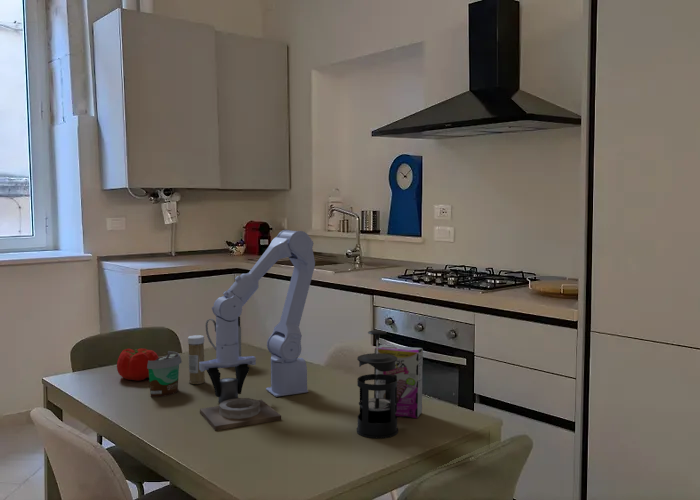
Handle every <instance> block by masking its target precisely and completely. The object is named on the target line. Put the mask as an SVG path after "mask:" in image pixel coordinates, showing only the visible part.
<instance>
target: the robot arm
mask: <svg viewBox="0 0 700 500" xmlns="http://www.w3.org/2000/svg"><path fill="white" fill-rule="evenodd" d="M313 246H314V241H313V239H312V238H311V237H310V235H309V234H308V233H307V232H305V231H303V230H291V229H283V230H281V231H280V232H279V233H278V234H277V236H275V237H274V238H273V239H272V240H271V242H270V244H269V245H268V247H267V248H266V249H265V251H264V252H263V253H262V255H261V256H260V257H259V259H258V260H257V261H256V262H255V264H254V265H253V266H252V267H251V269H250V270H249V272H247V273H241V274H240V275H237V276H236V277H235V278H234V280H235V281H234V282H233V283H232V285H230V287H229V288H228V289H227V290H225V291H224V292H223V293H222V295H223V296H220V297H217V299H215V301H214V302H213V306H212V307H211V310H212V314H213V315H214V316H215V322H216V332H215V340H216V341H215V347H216V350H215V351H216V353H215V355H216V356H215V357H216V358H215V359H209V360H204V362H199V370H200V371H204V372H205V371H206V372H207V375H208V376H209V378H210V380H211V384H212V386H213V390H214V394H215V397H217V398H219V397H220V379H221V372H220V370H219V369H224V368H226V369H227V368H234V371H235V378H236V379H238V395H241V394H242V390H243V386H244V382H245V379H246V378H247V375H248V374H249V371H250V366H249V365H251V366H256V364H257V362H256V360H257V359H256V356H253V355H251V356H250V355H249V356H241V357H239V340H238V317H241V315H242V312H243V307H244V306H245V305H246V303H247V302H248V301H249V299H251V298H252V296H253V295H254V294H255V293H256V291H257V290H258V289H259V281H260V280H261V279H262V278H263V277H264V275H266V274H267V272H268V271H269V270H270V269H271V268H272V267H273V266H274V265H275V264H276V263H277V262H278V261H279V260H282V259H287V258H288V259H289V260H290V262H291V263H292V265H293V270H292V275H291V278H290V282H289V286H288V289H287V292H286V293H287V294H286V297H285V301H284V304H283V307H282V312H281V317H280V320H279V322H278V323H277V324H276V325H275V326H274V328H273V331H272V333H271V335H270V336H269V337H268V338H267V342H266V348H267V350H268V352H269V353H270V355H271V357H270V386H268V387H266V388H265V390H266V391H267V392H269V393H270V394H272V395H273V397H275V398H276V397H285V396H291V395H298V394H304V393H305V394H306V393H308V392H309V389H308V366H307V362H306V360H305V358H303V357H300V355H301V354H302V344H301V343H302V332H301V329H300V324H301V320H302V317H303V313H304V309H305V306H306V305H305V304H306V301H307V297H308V293H309V290H310V285H311V282H312V280H313V279H312V278H313V274H314V271H315V267H316V261H315V256H314V255H315V254H314V250H313ZM234 366H235V367H234Z"/></svg>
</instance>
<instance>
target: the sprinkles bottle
mask: <svg viewBox="0 0 700 500" xmlns="http://www.w3.org/2000/svg"><path fill="white" fill-rule="evenodd" d="M187 344H188V372H189V376H188V377H189V381H188V383H189V384H190V385H202V384H204V383H205V382H206V379H205V378H206V377H205V375H206V374H205V371H200V370H199V362H204V361H205V349H204V348H205V347H204V344H205V336H204V335H203V334H202V335H200V334H194V335H189V336H188V337H187Z"/></svg>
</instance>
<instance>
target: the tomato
mask: <svg viewBox="0 0 700 500" xmlns="http://www.w3.org/2000/svg"><path fill="white" fill-rule="evenodd" d="M159 357H160V356H159V355H158V354H157V352H155V351H154V350H152V349H147V348H142V347H141V348H138V349H137V348H135V349H131V348H129V347H128V348H125V349H122V351H121V352H120V354H119V356H118V358H117V361H116V369H117V370H116V371H117V373H118V375H119V376H120V377H122V378H123V379H125V380H128V381H129V380H130V381H131V380H132V381H136V382H137V381H138V382H140V381H144V380H145V379H149V369H147V364H148V361H155V360H156V359H158V358H159Z"/></svg>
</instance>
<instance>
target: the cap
mask: <svg viewBox="0 0 700 500" xmlns="http://www.w3.org/2000/svg"><path fill="white" fill-rule="evenodd" d="M236 398H239V394H238V379H236V377H224V378H220V397H218V403H219V404H221V402H223V401H226V400H229V399H236Z"/></svg>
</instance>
